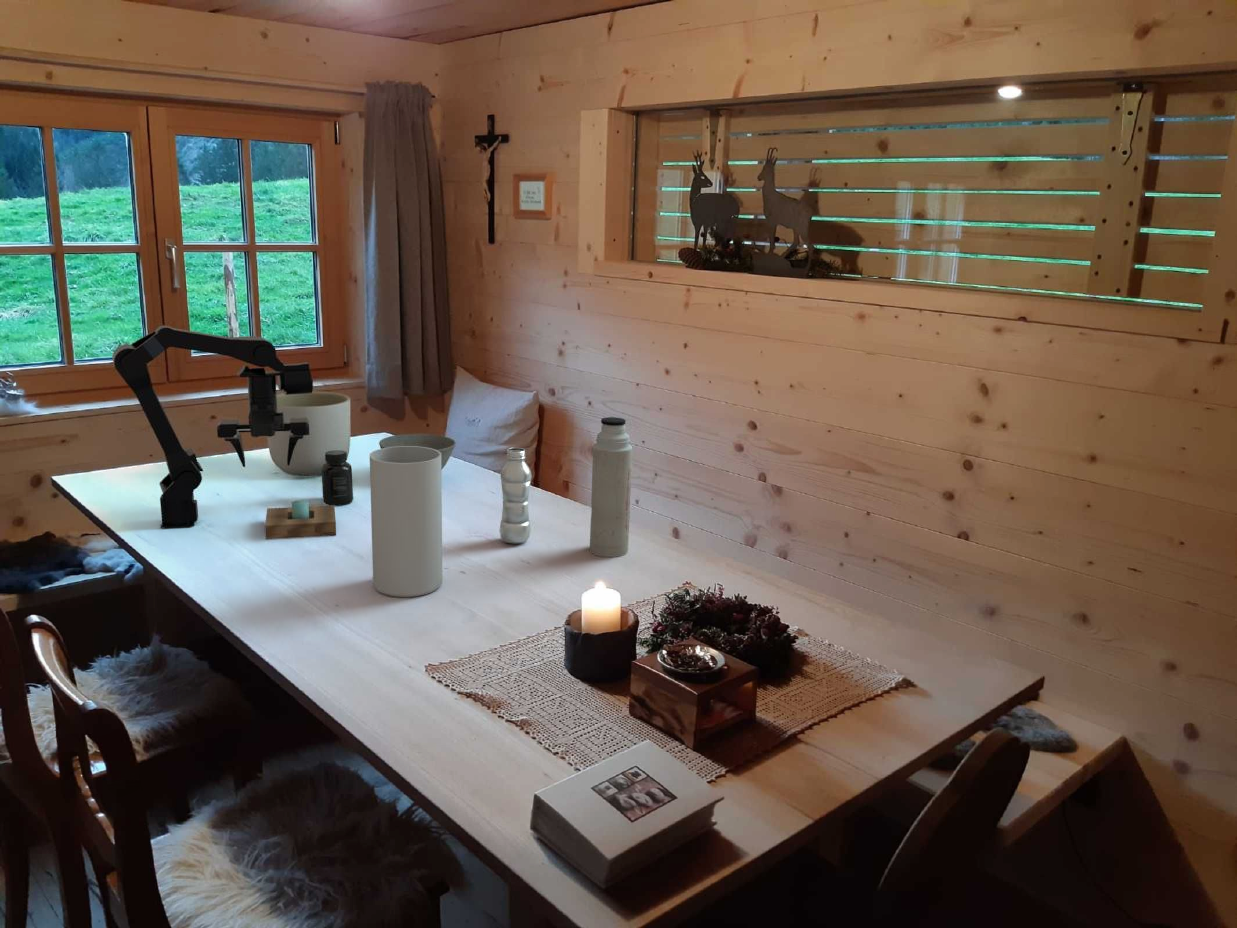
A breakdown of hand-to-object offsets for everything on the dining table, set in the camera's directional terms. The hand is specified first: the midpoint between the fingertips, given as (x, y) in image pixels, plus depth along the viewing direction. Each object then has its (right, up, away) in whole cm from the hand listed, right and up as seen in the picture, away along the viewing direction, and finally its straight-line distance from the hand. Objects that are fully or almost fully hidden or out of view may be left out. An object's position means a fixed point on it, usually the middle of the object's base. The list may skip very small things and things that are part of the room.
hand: (266, 465), depth 214 cm
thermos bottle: (+76, -18, -12) cm, 79 cm away
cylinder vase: (+39, -22, -35) cm, 57 cm away
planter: (-2, -2, +38) cm, 38 cm away
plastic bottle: (+56, -16, -9) cm, 59 cm away
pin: (+10, -13, -6) cm, 17 cm away
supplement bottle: (+12, -9, +13) cm, 20 cm away
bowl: (+26, -4, +33) cm, 43 cm away
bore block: (+10, -13, -6) cm, 18 cm away
